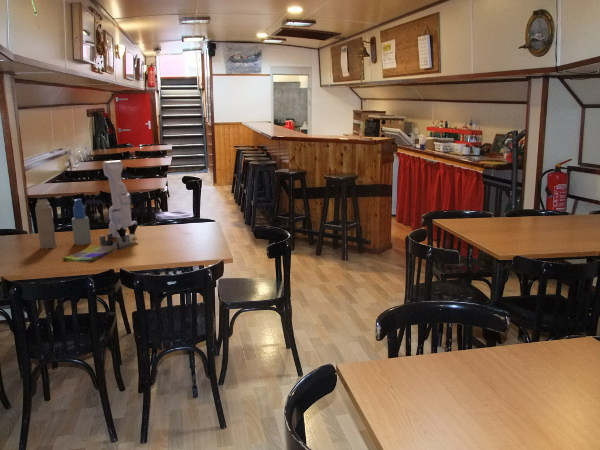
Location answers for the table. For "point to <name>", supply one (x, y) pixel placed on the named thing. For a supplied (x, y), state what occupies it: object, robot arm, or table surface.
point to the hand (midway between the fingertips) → (127, 239)
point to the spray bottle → (80, 224)
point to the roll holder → (119, 244)
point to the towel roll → (131, 237)
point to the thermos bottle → (45, 223)
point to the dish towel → (91, 254)
